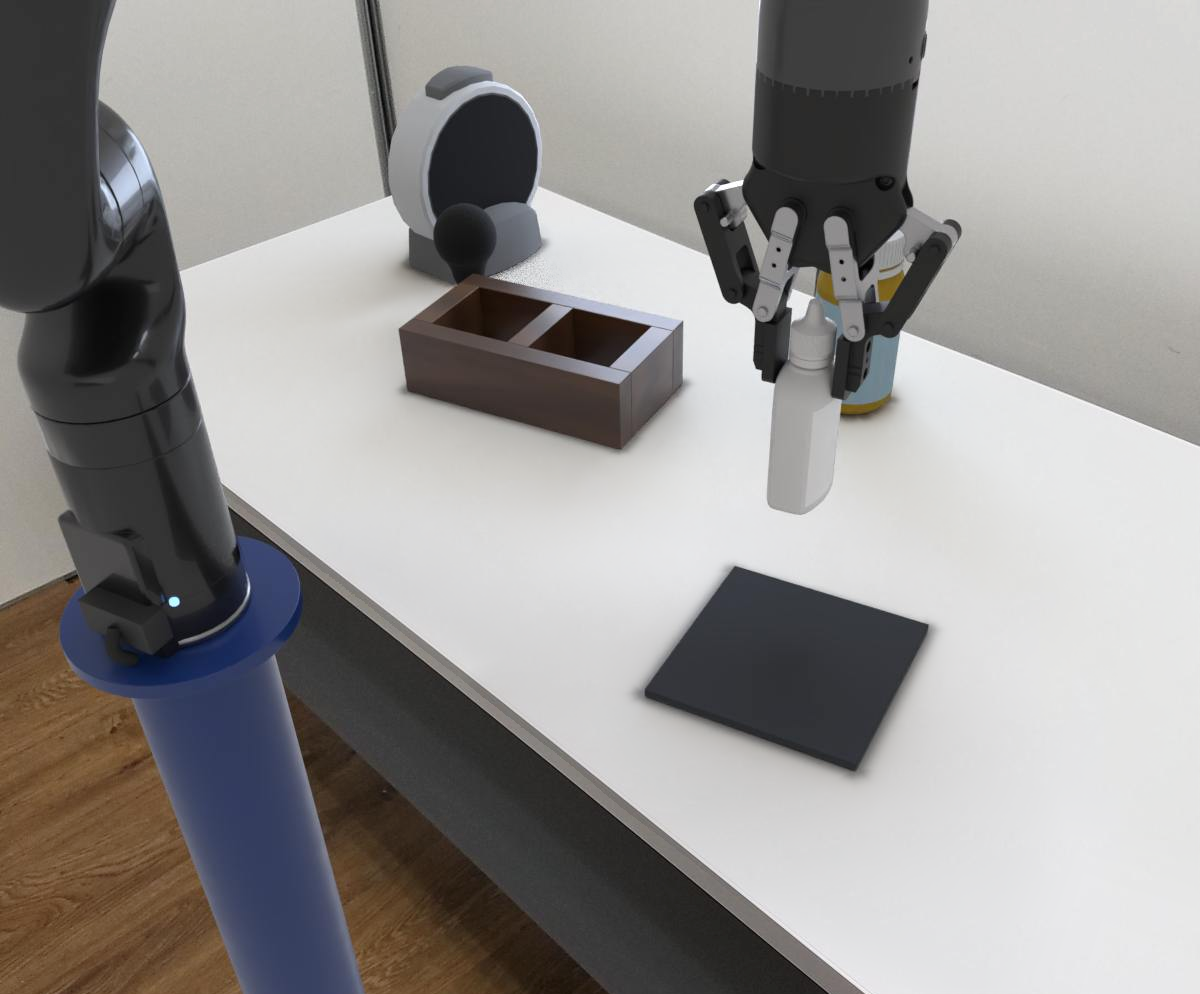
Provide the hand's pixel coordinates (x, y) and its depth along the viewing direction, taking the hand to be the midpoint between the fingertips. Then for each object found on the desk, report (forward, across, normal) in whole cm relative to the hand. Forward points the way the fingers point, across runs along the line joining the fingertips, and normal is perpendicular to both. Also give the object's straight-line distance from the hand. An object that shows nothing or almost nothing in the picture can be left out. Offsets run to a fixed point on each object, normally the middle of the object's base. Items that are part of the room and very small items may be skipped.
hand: (809, 383), depth 69 cm
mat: (+20, 0, 0) cm, 20 cm away
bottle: (+21, -8, +33) cm, 39 cm away
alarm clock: (+21, -51, +43) cm, 70 cm away
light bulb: (+21, -46, +33) cm, 60 cm away
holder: (+20, -32, +23) cm, 44 cm away
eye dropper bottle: (+7, 0, 0) cm, 7 cm away
